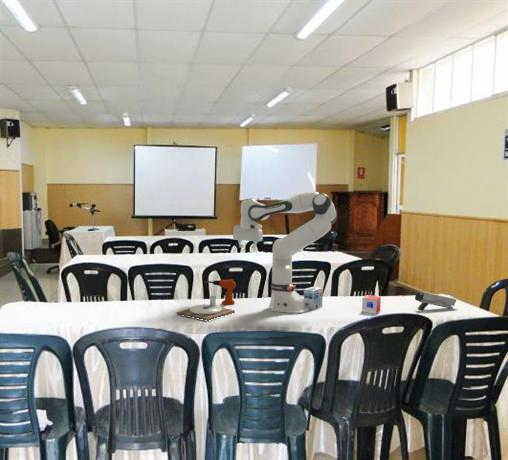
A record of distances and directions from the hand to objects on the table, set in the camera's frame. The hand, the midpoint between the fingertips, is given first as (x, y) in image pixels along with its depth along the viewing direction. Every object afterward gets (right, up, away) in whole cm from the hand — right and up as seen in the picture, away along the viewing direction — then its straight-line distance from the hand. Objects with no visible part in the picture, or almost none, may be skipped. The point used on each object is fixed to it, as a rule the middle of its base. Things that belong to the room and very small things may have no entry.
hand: (247, 247), depth 291 cm
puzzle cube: (+69, -34, -26) cm, 81 cm away
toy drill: (-15, -32, -14) cm, 38 cm away
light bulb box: (+38, -33, -18) cm, 53 cm away
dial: (-22, -32, -36) cm, 53 cm away
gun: (+107, -34, -19) cm, 114 cm away
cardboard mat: (-22, -34, -36) cm, 54 cm away
